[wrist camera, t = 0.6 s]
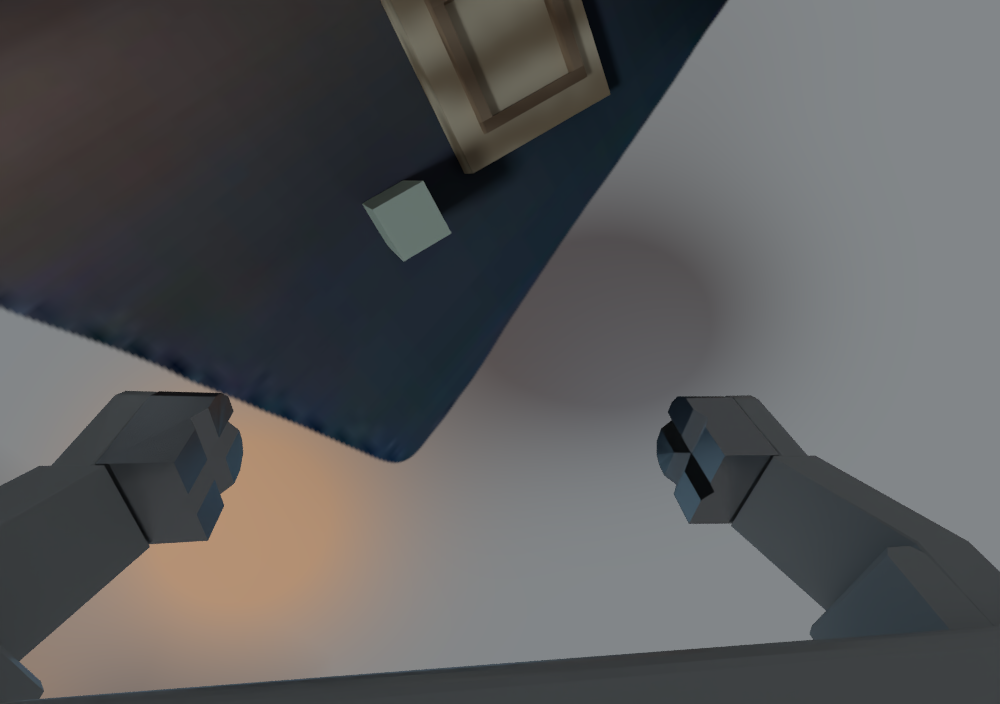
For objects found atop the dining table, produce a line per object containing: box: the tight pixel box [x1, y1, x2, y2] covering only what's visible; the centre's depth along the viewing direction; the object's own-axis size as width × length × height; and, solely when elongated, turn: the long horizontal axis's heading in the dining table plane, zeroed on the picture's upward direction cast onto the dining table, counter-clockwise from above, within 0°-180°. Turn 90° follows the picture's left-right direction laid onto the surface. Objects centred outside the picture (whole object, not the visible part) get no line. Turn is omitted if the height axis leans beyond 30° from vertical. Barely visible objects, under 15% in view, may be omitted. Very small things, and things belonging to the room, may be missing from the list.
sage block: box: [362, 180, 451, 261], centre depth 41 cm, size 4×4×10 cm
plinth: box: [380, 0, 610, 174], centre depth 41 cm, size 16×16×4 cm
